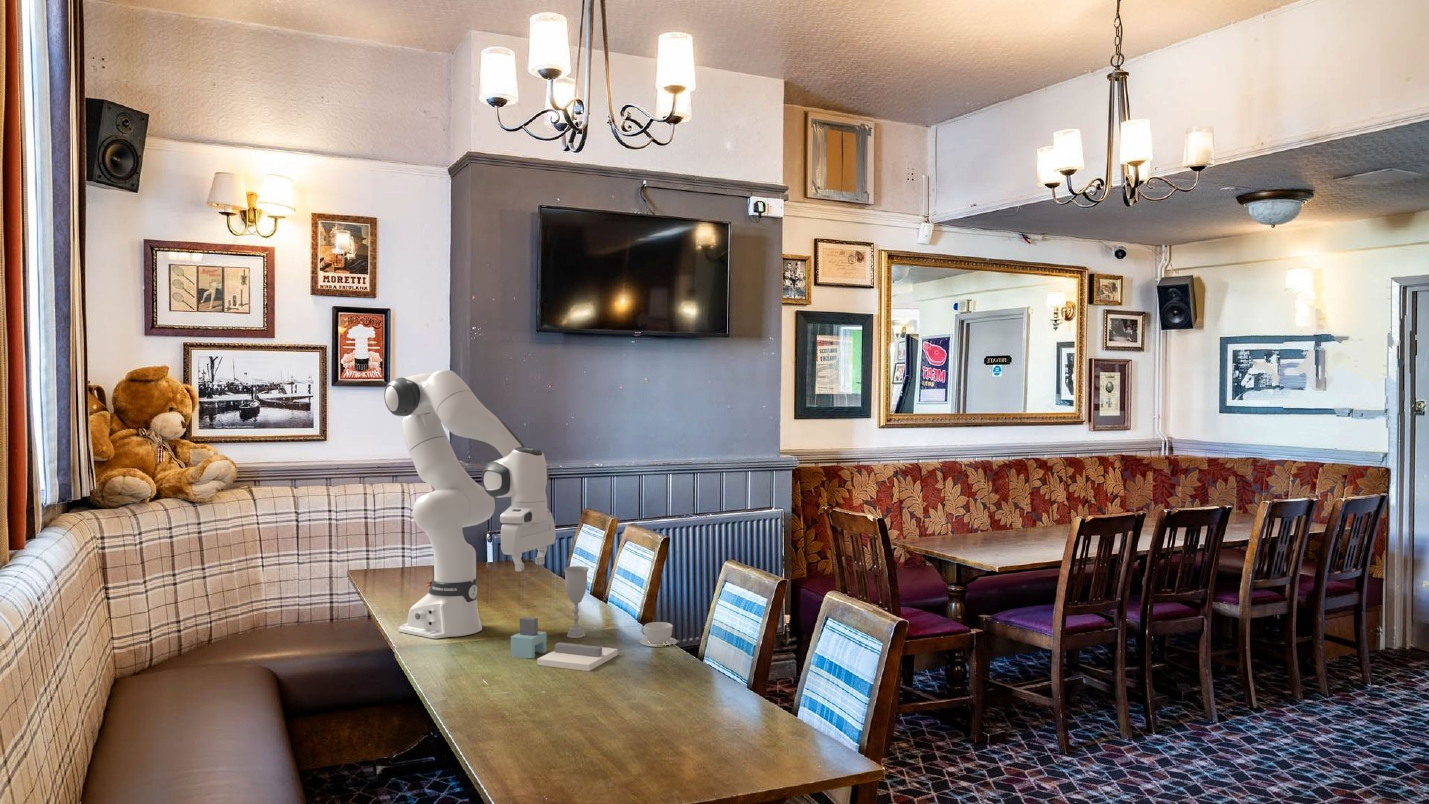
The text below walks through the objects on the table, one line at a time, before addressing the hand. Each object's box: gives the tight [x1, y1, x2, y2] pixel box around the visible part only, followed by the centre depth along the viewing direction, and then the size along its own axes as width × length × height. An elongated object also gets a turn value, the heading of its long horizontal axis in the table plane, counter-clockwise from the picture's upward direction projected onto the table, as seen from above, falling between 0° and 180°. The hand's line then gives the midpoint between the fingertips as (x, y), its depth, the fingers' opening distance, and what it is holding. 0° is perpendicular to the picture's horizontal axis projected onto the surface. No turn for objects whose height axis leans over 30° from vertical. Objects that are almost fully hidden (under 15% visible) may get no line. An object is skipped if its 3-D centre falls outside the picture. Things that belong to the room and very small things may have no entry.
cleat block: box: [510, 616, 548, 659], centre depth 244 cm, size 6×7×9 cm
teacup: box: [639, 621, 678, 648], centre depth 255 cm, size 10×10×5 cm
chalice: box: [563, 565, 590, 639], centre depth 262 cm, size 7×7×18 cm
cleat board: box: [536, 642, 619, 672], centre depth 239 cm, size 14×15×4 cm
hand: (529, 567), depth 244 cm, fingers open, 8 cm apart
